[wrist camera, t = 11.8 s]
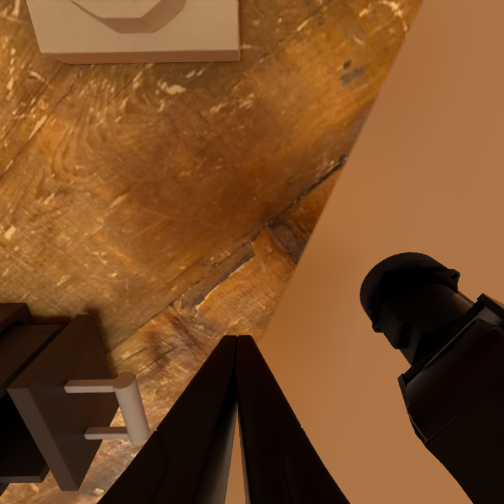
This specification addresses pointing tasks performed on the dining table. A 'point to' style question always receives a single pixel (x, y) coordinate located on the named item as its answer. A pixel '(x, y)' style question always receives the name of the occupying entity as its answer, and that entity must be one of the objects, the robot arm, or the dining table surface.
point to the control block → (137, 30)
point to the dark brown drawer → (60, 402)
